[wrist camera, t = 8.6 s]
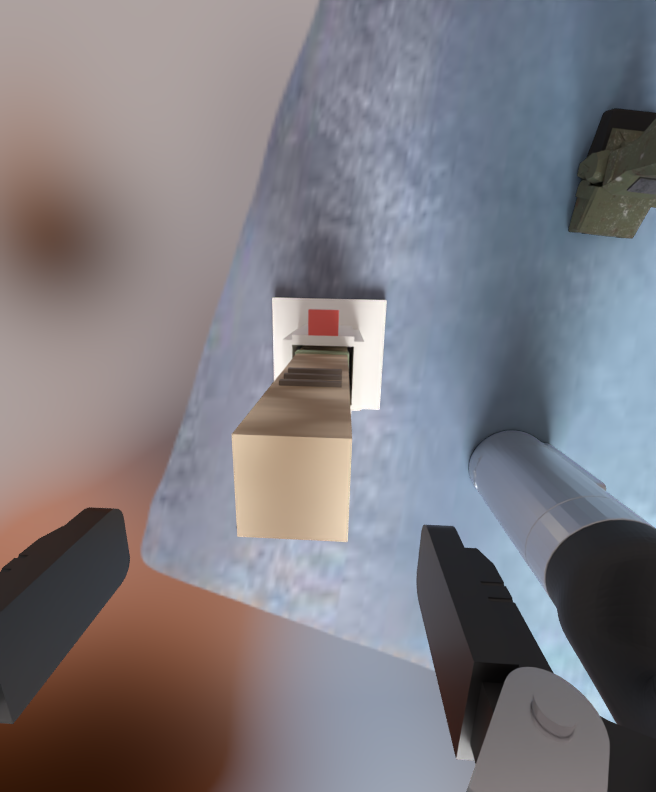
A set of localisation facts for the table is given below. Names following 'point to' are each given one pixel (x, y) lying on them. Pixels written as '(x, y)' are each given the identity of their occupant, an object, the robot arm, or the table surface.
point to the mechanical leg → (617, 176)
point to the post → (297, 452)
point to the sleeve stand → (335, 338)
